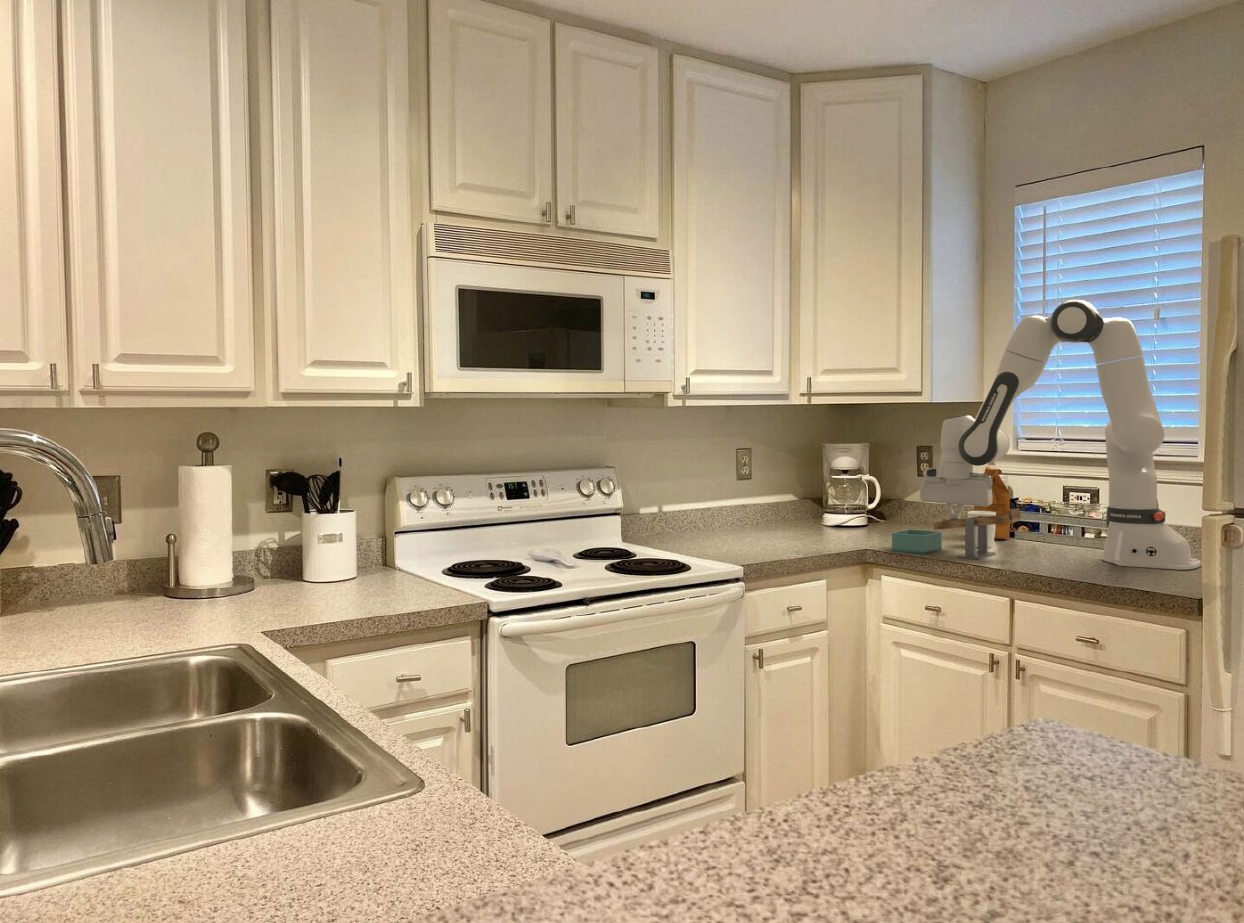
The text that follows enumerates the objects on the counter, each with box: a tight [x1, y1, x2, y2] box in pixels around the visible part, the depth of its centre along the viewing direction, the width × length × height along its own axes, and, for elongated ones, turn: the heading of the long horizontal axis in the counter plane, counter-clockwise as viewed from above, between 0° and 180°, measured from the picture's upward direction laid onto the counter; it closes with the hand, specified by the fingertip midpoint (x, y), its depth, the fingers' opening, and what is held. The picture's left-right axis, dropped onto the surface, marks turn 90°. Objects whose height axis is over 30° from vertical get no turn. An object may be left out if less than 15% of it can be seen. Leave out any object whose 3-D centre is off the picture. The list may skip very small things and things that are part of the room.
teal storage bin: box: [891, 528, 943, 555], centre depth 273 cm, size 10×10×5 cm
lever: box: [933, 508, 1022, 531], centre depth 263 cm, size 22×13×3 cm, turn 47°
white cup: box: [966, 510, 996, 549], centre depth 278 cm, size 8×8×10 cm
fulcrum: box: [957, 516, 996, 561], centre depth 261 cm, size 6×11×11 cm, turn 137°
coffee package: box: [973, 466, 1011, 541], centre depth 293 cm, size 10×12×22 cm
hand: (955, 519), depth 272 cm, fingers closed
